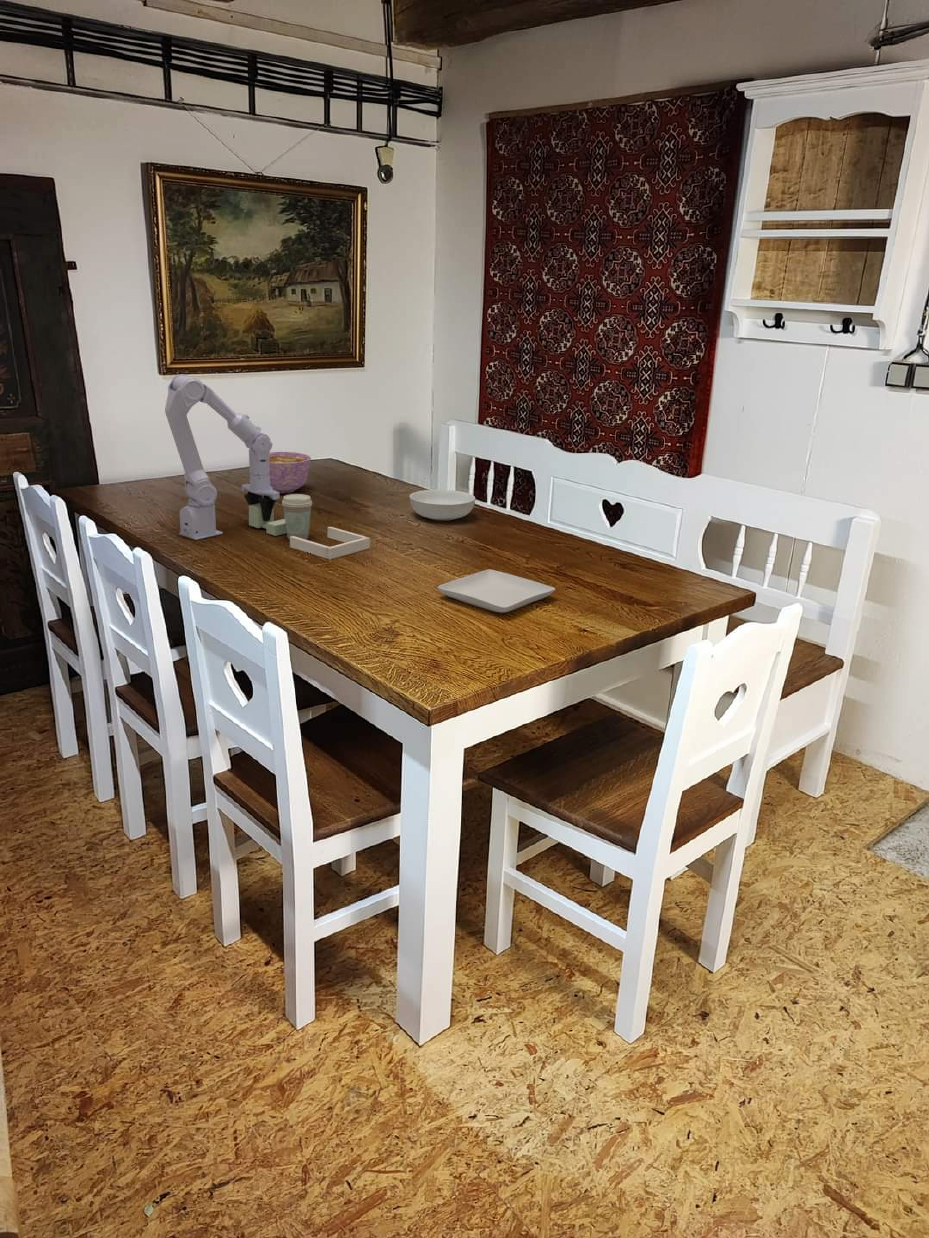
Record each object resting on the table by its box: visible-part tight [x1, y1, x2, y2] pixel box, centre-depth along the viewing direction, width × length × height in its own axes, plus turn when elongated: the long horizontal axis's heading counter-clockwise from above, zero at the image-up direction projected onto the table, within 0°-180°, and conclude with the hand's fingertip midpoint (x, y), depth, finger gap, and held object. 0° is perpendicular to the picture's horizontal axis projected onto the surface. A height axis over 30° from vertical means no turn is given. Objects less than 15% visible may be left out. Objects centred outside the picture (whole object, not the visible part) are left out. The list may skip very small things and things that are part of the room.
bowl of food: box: [269, 451, 312, 494], centre depth 311 cm, size 20×20×12 cm
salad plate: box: [437, 569, 556, 614], centre depth 219 cm, size 21×21×3 cm
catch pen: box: [289, 526, 371, 560], centre depth 252 cm, size 15×16×3 cm
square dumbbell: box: [248, 503, 287, 537], centre depth 265 cm, size 8×13×6 cm, turn 52°
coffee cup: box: [281, 493, 313, 540], centre depth 258 cm, size 9×8×12 cm
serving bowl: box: [409, 489, 476, 522], centre depth 288 cm, size 21×21×7 cm
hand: (261, 519), depth 268 cm, fingers closed on square dumbbell, 4 cm apart
